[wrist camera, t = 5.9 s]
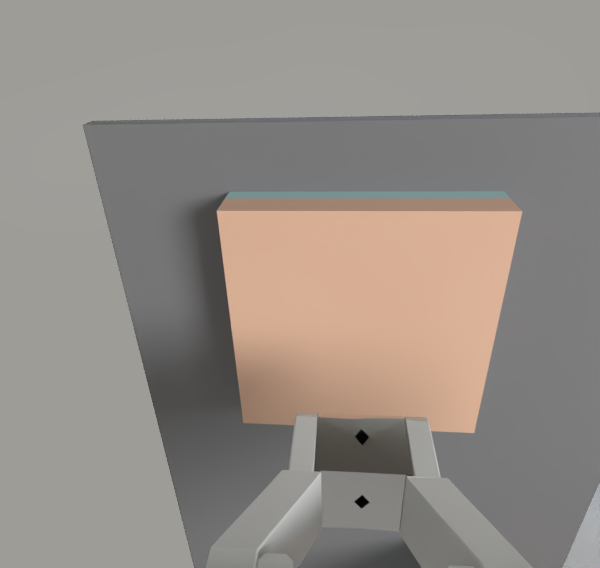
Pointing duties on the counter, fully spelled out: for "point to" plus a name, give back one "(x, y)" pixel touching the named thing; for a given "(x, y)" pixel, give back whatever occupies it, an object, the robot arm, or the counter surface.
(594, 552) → the counter surface
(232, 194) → the tile
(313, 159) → the mat
